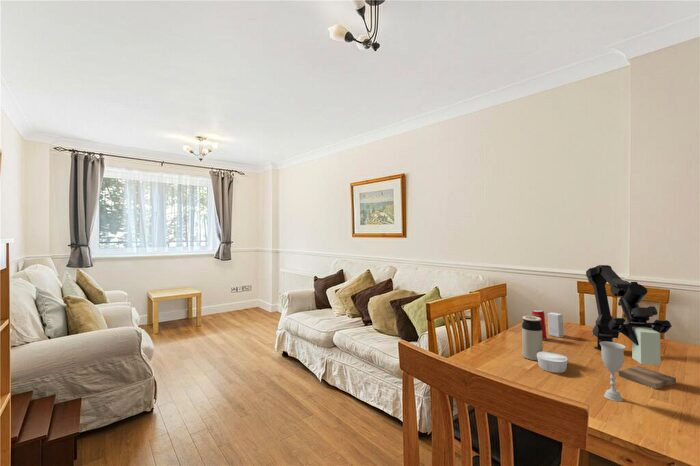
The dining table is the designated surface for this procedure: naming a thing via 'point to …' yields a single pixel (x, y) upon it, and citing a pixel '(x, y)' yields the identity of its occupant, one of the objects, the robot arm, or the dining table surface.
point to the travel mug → (531, 337)
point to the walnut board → (647, 377)
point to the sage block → (646, 346)
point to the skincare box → (555, 324)
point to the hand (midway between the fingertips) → (647, 345)
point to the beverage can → (541, 315)
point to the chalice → (612, 365)
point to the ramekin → (552, 362)
